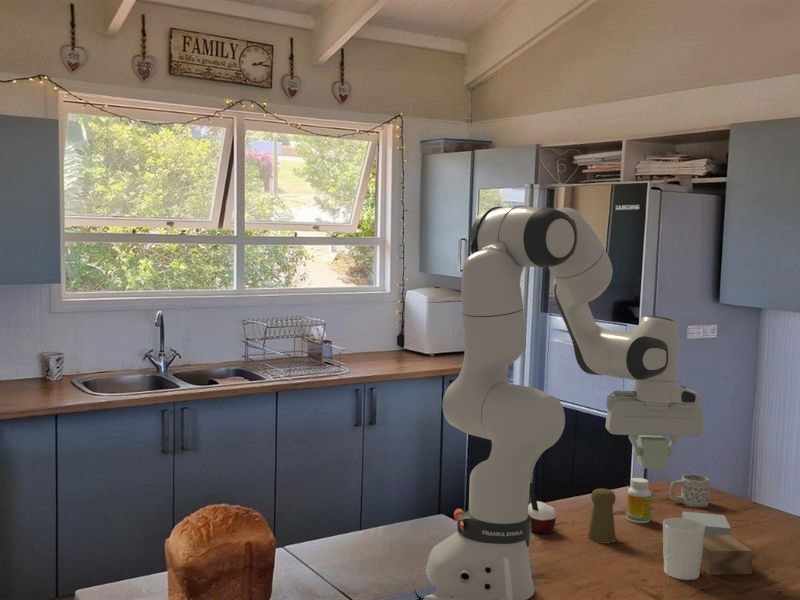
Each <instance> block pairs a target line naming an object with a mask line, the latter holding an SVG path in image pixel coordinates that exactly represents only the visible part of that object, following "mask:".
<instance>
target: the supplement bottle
mask: <svg viewBox="0 0 800 600" xmlns="http://www.w3.org/2000/svg"><path fill="white" fill-rule="evenodd" d="M649 484H650V483H649V480H648V479H646V478H643V477H633V478H630V486H631V487H628V489H627V495H626V496H627V497H626V498H627V500H626V501H627V502H626V503H627V504H626V519H627V521H628V522H631V523H634V522H635V523H636V524H648V523H650V520H651V510H652V509H651V507H652V505H651V504H652V503H651V502H652V491H651V489H649ZM635 523H634V524H635Z"/></svg>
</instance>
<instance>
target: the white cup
mask: <svg viewBox="0 0 800 600" xmlns="http://www.w3.org/2000/svg"><path fill="white" fill-rule="evenodd" d="M704 532H705V526H704V525H703V524H701V523H699V522H697V521H694V520H690V519H684V518H682V517H672V518H666V519H664V520H662V546H663V547H662V554H663V572H664V573H665V575H667V576H670V577H671V578H673V579H677V580H683V581H691V580H697V579H698V578H699V577H700V573H701V568H700V564H701V559H702V553H703V543H704Z"/></svg>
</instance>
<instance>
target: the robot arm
mask: <svg viewBox="0 0 800 600" xmlns="http://www.w3.org/2000/svg"><path fill="white" fill-rule="evenodd" d="M469 249H470V253H471V254H470V255H469V256H467V258H466V259H465V261H464V263H463V266H462V273H461V274H462V275H461V287H460V288H461V293H460V294H461V298H460V299H461V301H460V302H461V315H462V323H463V324H462V325H463V338H464V339H463V343H464V355H463V362H462V366H461V369H460V372H459V375H458V376H457V378H455V380H453V381H452V382H451V383H450V385H449V386H448V387H447V389H446V390H445V393H444V394H443V398H442V413H443V417H444V419H445V420H446V422H447V423H448V424H450V425H451V426H452V427H454V428H455V429H457V430H459V431H461V432H463V433H465V434H467V435H471V436H474V437H478V438H482V439H486V440H490V441H491V449H490V450H491V451H490V454H489V456H488V458H487V459H486V460H484V461H481V462H480V463H478V464H477V465H475V467H474V468H472V470H471V473H470V474H469V484H468V485H469V489H468V490H469V491H468V493H469V494H468V510H467V511H464V510H463V509H462V508H456V509H455V510H454V512H453V516H454V520H455V521H456V522H457V524H456V525H457V526H456V527H457V528H456V529H457V530H456V531H455V532H454V533H452V534H451V535H450V536H448V537H447V538H445V539H443V540H442V541H440V542H439V543H437V544H436V545H434V546H433V548H432V549H431V551H430V552H429V555H428V559H427V561H426V562H427V563H426V567H425V568H426V575H427V578H428V580H429V581H430V582H431V583H432V584H433V585H435V586H436V592H435V593H433V594H430V595H427V596H425V597H424V599H423V600H528V599H530V598H532V596H533V595H534V594H535V585H534V582H533V578H532V573H531V564H530V558H529V547H530V543H531V542H530V541H531V535H532V534H531V533H532V532H531V522H530V517H529V514H528V506H529V504H530V503H529V502H530V501H529V500H530V494H529V489H530V482H531V479H532V474H533V471H534V469H535V466H536V463H537V461H538V460H539V459H540V457H541V455H542V454H543V453H544V452H545V451H546V450H548V449H550V448H551V447H553V446H554V445H556V443H557V442H558V441H559V439H560V438H561V437H562V435H563V432H564V429H565V424H566V414H565V410H564V407H563V405H562V402H561V401H560V400H559V399H558V398H557V397H555V396H553V395H551V394H549V393H548V392H545V391H543V390H540V389H538V388H535V387H532V386H531V387H530V386H525V385H520V384H514V383H510V382H509V380H508V372H509V371H508V370H509V366H510V364H513V363H514V362H516V361H517V360H518V359H519V358H520V357H521V356H522V355H523V354H524V352H525V350H526V347H527V340H526V327H525V324H526V323H525V313H524V305H523V303H524V302H523V295H522V289H521V283H520V282H521V277H522V273H523V271H524V268H530V267H531V268H533V267H534V268H536V267H539V268H548V270H549V271H550V273H551V275H552V278H553V279H554V281H555V283H554V287H553V294H554V295H553V296H554V299H555V303H556V305H557V307H558V310H559V313H560V315H561V317H562V318H561V319H562V320H563V322H564V325H565V327H566V329H567V332H568V334H569V337H570V340H571V342H572V346H573V351H574V356H575V360H576V361H577V365H578V366H579V368H580V369H581V370H582V371H583V372H585V373H586V374H588V375H594V376H608V377H613V378H619V379H626V380H631V381H634V390H622V391H621V390H614V391H613V392H611V393H609V394H608V395H607V396H606V409H607V412H606V419H605V429H606V430H607V432H608V433H609V434H612V435H618V436H619V435H621V436H623V435H624V436H628V439H629V441H630V443H631V445H632V446H633V448H632V449H633V450H632V451H633V453H632V454H633V455H634V456H636V457H637V456H642V449H643V448H642V447H640V446H638V442H637V441H638V435H650V436H662V437H668V439H669V440H670V441H669V449H668V458H670V457H671V458H672V457H673V451H674V450H673V449H675V447H676V445H677V444H678V443H679V439H680V438H679V437H682V438H683V437H684V438H685V437H688V438H690V437H691V438H700V437H701V436H702V435H703V433H704V428H705V427H704V425H705V424H704V411H703V408H702V407H701V405H700V402H701V395H700V393H699V392H696V391H694V390H693V389H689V388H687V387H685V386H683V385H679V375H678V369H677V368H678V364H679V361H680V351H681V349H680V347H681V346H680V345H681V342H680V339H681V338H680V330H679V325H678V323H677V322H676V321H675V320H673V319H671V318H667V317H664V316H663V317H662V316H656V315H645V316H641V319H640V322H639V324H638V325H637V326H636V327H634V328H633V329H631V330H629V331H626V332H624V331H616V330H610V329H606V328H604V327H602V326H600V325H599V324H598V323H596V320H595V318H594V316H593V314H592V310H591V308H590V306H589V303H590V302H592V301H594V300H595V299H597V298H598V297H600V296H601V295H602V294H603V293H604V292H605V291H606V290H607V288H608V287H609V285H610V283H611V281H612V277H613V271H614V270H613V265H612V262H611V259H610V257H609V255H608V252H607V251H606V250H605V248H604V246H603V244H602V242H601V240H600V239H599V237H598V236H597V234H596V232H595V231H594V230H593V228H592V227H591V226H590V224H589V223H588V222H587V220H586V219H585V218H584V217H583V216H582V214H581V213H580V212H579V211H577V210H576V209H574V208H572V207H558V208H552V207H549V206H548V207H547V206H546V207H535V206H527V205H509V206H494V207H489V208H488V209H486V210H483V211H482V212H480V213H479V214H478V215H477V216H476V218H475V219H474V221H473V224H472V227H471V230H470V247H469Z"/></svg>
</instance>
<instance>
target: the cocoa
mask: <svg viewBox="0 0 800 600" xmlns="http://www.w3.org/2000/svg"><path fill="white" fill-rule="evenodd" d="M529 500H530V503H529V504H528V514H529V517H530V522H531V530H532V531H533V532H534V533H536V534H541V535H547V534H549V533H551V532H552V531H553V530H555V529H554V528H555V526H556V521H557V520H556V519H557V513H556V509H555V508H554V507H553V506H550V505H548V504H547V503H545V502H543V501H539V500H537V496H536V491H535V486H534V483H533V482H531V481H530V489H529Z"/></svg>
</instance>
